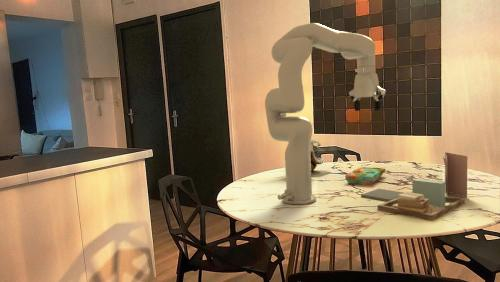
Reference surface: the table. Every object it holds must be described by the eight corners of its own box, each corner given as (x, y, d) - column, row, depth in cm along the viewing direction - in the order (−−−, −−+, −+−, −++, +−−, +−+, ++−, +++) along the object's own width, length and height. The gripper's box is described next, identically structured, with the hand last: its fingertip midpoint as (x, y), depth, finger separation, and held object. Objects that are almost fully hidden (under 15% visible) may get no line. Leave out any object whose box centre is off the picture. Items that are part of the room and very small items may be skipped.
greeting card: (442, 190, 157) (442, 152, 156) (464, 191, 155) (464, 152, 153) (444, 198, 147) (444, 157, 145) (467, 199, 144) (468, 157, 142)
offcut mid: (422, 209, 129) (422, 203, 129) (397, 206, 134) (397, 200, 134) (429, 205, 133) (429, 199, 133) (404, 201, 139) (404, 196, 139)
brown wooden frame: (431, 220, 124) (431, 215, 124) (377, 209, 138) (377, 205, 138) (464, 203, 140) (464, 199, 139) (413, 195, 153) (413, 191, 153)
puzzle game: (345, 173, 178) (360, 165, 195) (345, 184, 178) (360, 175, 195) (372, 175, 172) (385, 166, 188) (372, 186, 172) (385, 176, 189)
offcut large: (421, 218, 129) (421, 210, 128) (392, 212, 136) (392, 205, 136) (431, 213, 133) (431, 205, 133) (403, 207, 141) (402, 200, 140)
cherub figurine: (334, 172, 204) (332, 136, 202) (314, 179, 191) (312, 140, 189) (304, 169, 216) (302, 135, 214) (283, 175, 203) (282, 139, 201)
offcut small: (414, 202, 130) (414, 197, 130) (398, 199, 135) (398, 194, 135) (423, 199, 133) (423, 194, 133) (407, 196, 138) (407, 191, 138)
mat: (390, 201, 146) (390, 199, 146) (361, 196, 155) (361, 194, 155) (407, 195, 154) (407, 193, 154) (378, 190, 163) (378, 188, 163)
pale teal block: (441, 207, 137) (441, 183, 136) (412, 202, 145) (412, 179, 144) (445, 205, 139) (445, 182, 138) (416, 200, 147) (416, 178, 146)
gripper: (344, 72, 181) (345, 111, 183) (380, 69, 169) (381, 111, 171) (353, 72, 186) (354, 110, 188) (389, 69, 174) (390, 109, 176)
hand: (367, 110), depth 179 cm, fingers open, 9 cm apart
